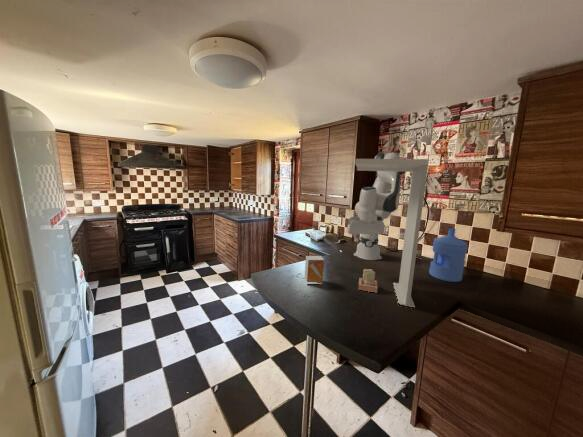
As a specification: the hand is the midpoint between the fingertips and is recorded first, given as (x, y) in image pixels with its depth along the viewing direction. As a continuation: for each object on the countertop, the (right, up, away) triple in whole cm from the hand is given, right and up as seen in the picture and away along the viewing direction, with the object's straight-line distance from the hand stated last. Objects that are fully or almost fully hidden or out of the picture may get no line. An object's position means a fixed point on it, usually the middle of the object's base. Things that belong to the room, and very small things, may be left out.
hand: (364, 241), depth 126 cm
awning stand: (0, -22, -17) cm, 28 cm away
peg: (-3, -21, -15) cm, 26 cm away
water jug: (+47, -21, +4) cm, 52 cm away
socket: (-3, -21, -15) cm, 26 cm away
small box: (-29, -20, -11) cm, 37 cm away
